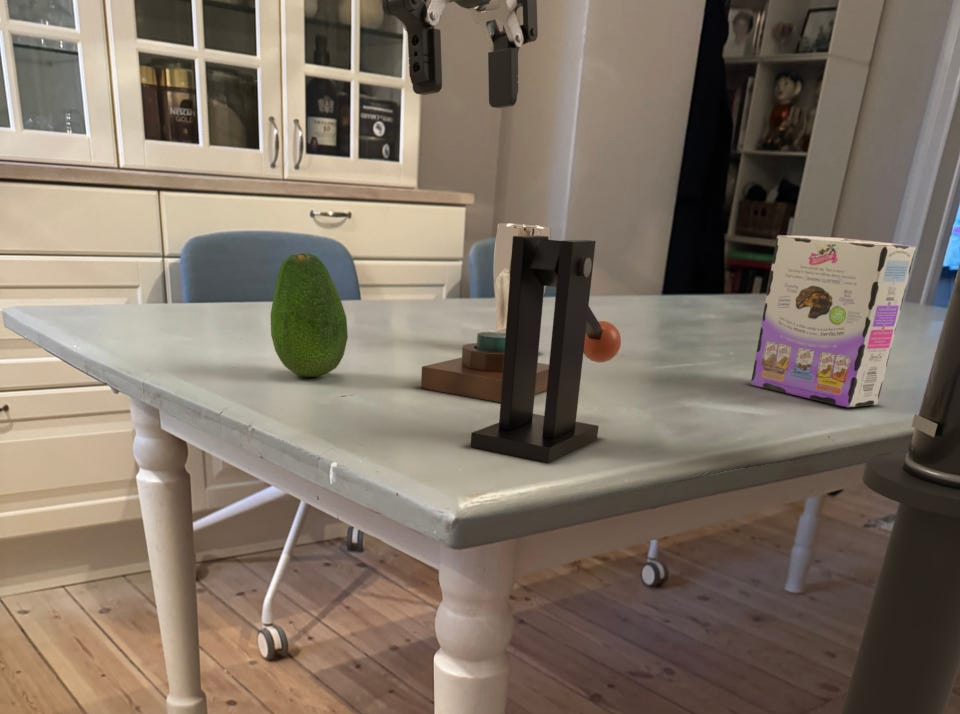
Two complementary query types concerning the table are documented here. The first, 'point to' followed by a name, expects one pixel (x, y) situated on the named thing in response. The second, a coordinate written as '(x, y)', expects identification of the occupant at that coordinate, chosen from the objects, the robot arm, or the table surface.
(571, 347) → the bracket
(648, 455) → the table surface
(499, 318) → the beer glass
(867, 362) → the candy box
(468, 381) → the button block
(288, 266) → the avocado
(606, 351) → the lever
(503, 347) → the button
